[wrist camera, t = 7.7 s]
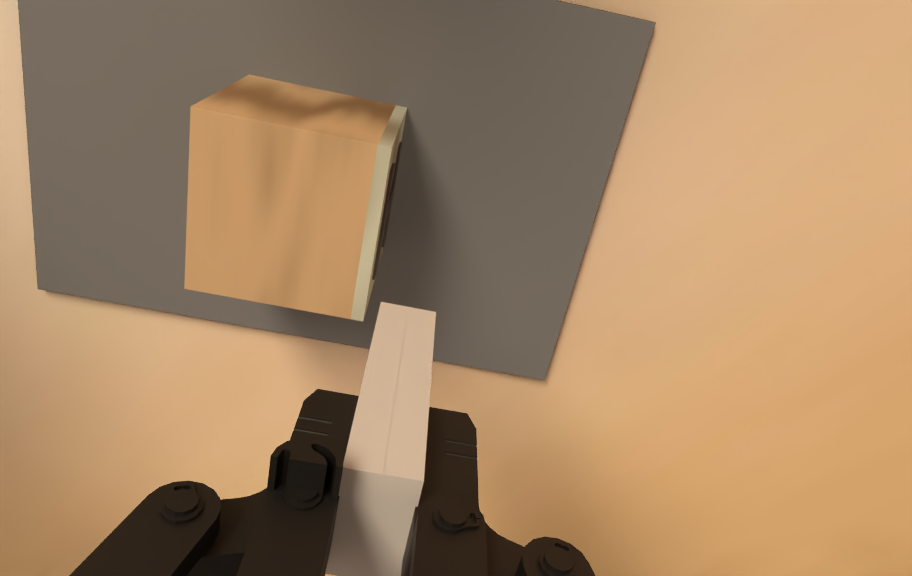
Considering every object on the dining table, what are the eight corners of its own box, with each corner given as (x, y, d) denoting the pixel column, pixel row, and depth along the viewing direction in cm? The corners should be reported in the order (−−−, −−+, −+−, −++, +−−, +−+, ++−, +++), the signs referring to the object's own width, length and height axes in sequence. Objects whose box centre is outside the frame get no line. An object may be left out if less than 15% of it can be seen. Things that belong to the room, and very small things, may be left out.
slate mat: (42, 285, 34) (37, 289, 34) (15, -122, 27) (9, -123, 26) (543, 376, 36) (544, 380, 36) (653, 21, 29) (655, 22, 28)
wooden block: (384, 252, 33) (238, 224, 32) (409, 108, 30) (249, 74, 29) (365, 321, 27) (184, 288, 26) (394, 148, 24) (190, 106, 23)
